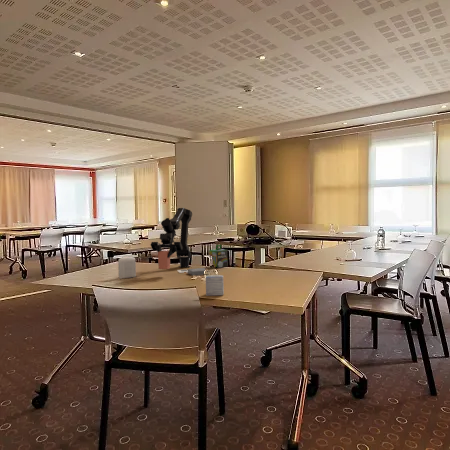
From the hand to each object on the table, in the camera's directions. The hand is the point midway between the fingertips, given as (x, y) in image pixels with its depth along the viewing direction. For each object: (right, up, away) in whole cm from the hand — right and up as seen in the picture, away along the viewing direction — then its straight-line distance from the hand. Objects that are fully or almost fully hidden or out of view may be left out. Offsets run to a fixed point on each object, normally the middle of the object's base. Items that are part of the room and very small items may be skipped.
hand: (163, 257), depth 225 cm
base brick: (+20, -11, +8) cm, 24 cm away
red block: (0, -7, +2) cm, 7 cm away
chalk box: (+32, -9, +34) cm, 47 cm away
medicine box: (+32, -13, -49) cm, 59 cm away
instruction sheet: (+13, -10, +19) cm, 26 cm away
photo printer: (-21, -12, +1) cm, 25 cm away
